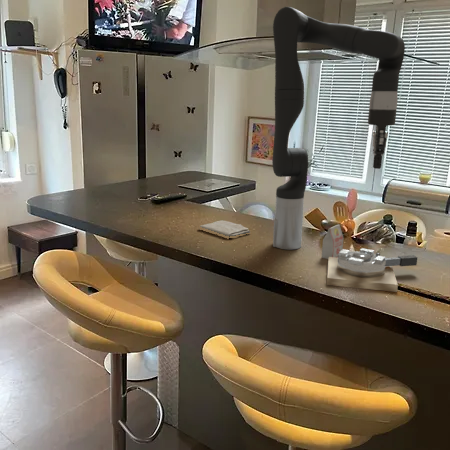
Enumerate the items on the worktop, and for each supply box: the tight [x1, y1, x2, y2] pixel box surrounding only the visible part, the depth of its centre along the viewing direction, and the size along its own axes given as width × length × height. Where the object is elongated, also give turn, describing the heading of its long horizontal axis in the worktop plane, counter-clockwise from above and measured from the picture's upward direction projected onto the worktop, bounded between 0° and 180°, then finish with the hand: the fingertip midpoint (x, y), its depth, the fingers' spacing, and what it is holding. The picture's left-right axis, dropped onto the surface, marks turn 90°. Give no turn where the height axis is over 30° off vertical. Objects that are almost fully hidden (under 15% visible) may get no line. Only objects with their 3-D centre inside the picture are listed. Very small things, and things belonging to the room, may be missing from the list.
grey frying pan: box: [337, 248, 418, 277], centre depth 130 cm, size 24×13×4 cm, turn 102°
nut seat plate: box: [326, 257, 399, 293], centre depth 130 cm, size 18×18×2 cm
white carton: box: [321, 224, 344, 260], centre depth 146 cm, size 4×7×10 cm, turn 139°
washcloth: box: [199, 219, 251, 237], centre depth 172 cm, size 12×18×3 cm, turn 45°
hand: (376, 168), depth 136 cm, fingers closed
